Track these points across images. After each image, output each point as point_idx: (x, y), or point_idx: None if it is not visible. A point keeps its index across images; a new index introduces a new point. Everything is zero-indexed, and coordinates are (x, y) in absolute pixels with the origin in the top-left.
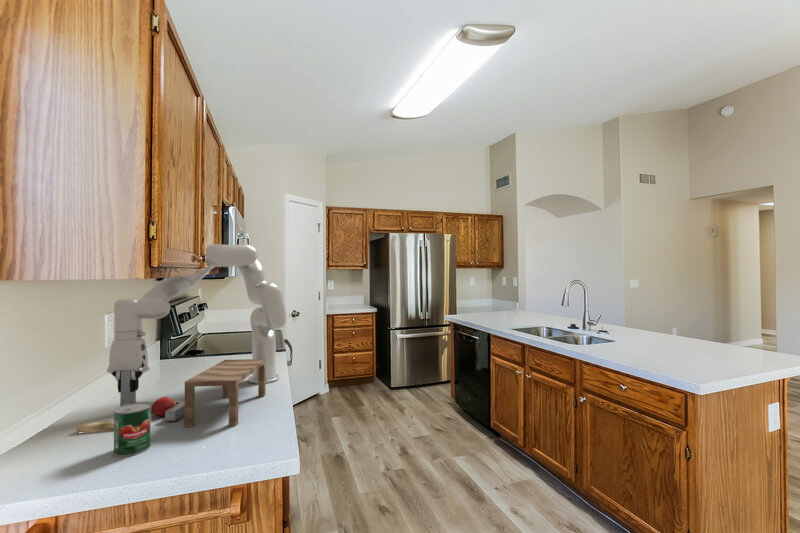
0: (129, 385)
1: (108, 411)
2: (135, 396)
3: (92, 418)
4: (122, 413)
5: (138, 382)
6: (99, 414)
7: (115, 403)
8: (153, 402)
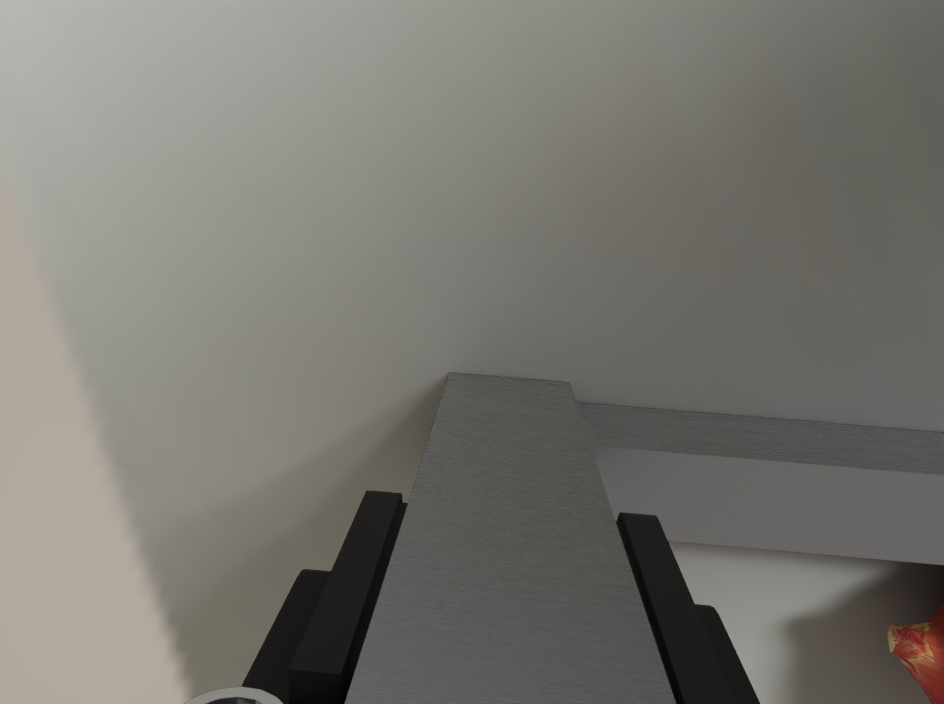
0: None
1: (229, 359)
2: (590, 455)
3: (211, 567)
4: None
5: (746, 679)
6: (194, 451)
7: (80, 3)
8: (903, 534)
